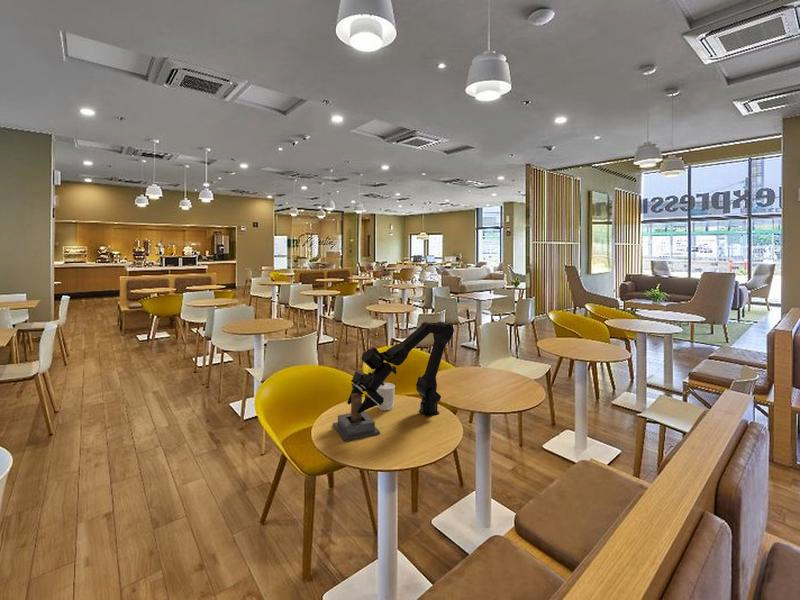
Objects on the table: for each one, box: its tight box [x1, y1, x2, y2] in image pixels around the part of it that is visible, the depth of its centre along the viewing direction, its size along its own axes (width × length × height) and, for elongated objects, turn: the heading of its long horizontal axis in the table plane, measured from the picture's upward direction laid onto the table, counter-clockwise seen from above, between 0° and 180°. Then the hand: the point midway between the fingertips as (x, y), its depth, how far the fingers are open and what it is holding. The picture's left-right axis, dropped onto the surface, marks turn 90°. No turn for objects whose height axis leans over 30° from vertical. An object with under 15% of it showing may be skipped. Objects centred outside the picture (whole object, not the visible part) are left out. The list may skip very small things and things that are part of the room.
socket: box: [332, 410, 381, 442], centre depth 158 cm, size 14×14×4 cm
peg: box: [350, 393, 363, 423], centre depth 157 cm, size 4×4×13 cm
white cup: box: [377, 382, 396, 411], centre depth 179 cm, size 8×8×10 cm
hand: (352, 408), depth 156 cm, fingers open, 9 cm apart
